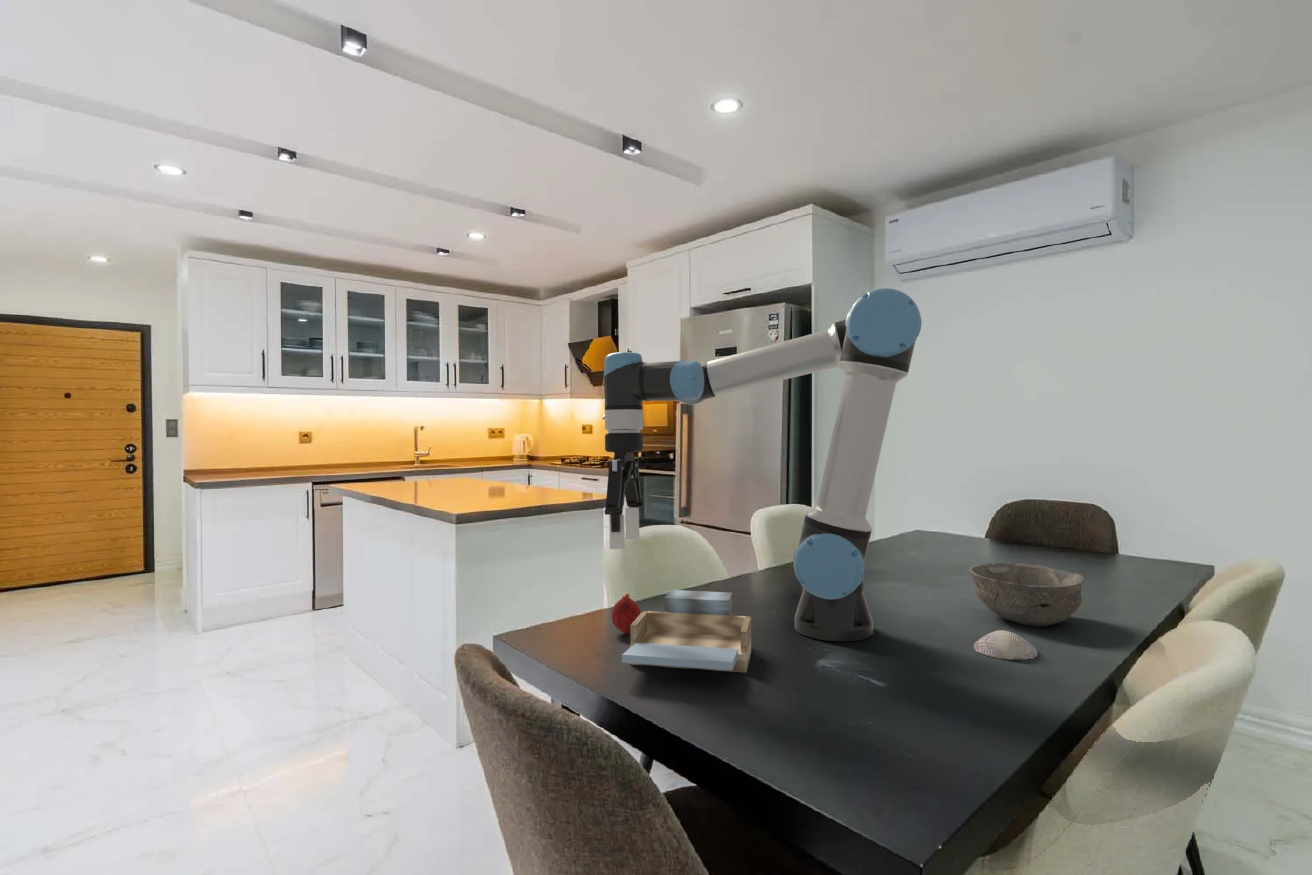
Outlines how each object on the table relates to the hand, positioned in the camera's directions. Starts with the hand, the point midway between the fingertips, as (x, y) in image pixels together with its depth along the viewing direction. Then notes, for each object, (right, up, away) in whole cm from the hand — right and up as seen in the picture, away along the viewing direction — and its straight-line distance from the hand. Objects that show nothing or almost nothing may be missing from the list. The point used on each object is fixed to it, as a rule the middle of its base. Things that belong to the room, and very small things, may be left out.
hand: (625, 543), depth 128 cm
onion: (0, -18, 0) cm, 18 cm away
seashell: (+69, -18, -12) cm, 72 cm away
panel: (+11, -15, -19) cm, 27 cm away
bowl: (+83, -17, +6) cm, 85 cm away
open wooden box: (+13, -18, -11) cm, 25 cm away
